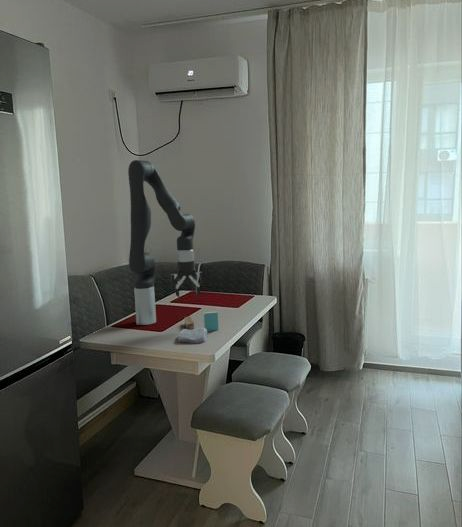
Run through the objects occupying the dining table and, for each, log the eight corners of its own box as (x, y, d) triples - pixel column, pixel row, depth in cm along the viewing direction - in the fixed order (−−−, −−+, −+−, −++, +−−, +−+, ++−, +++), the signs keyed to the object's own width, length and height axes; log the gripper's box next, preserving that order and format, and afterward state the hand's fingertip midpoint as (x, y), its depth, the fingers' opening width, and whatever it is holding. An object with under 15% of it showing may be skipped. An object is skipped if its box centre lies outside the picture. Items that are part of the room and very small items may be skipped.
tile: (204, 331, 198) (204, 313, 197) (204, 330, 200) (203, 312, 199) (218, 330, 199) (217, 312, 198) (217, 328, 201) (217, 311, 200)
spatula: (186, 336, 193) (185, 328, 192) (182, 324, 210) (182, 317, 210) (198, 334, 194) (197, 327, 193) (193, 323, 211) (193, 316, 211)
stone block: (206, 347, 183) (208, 335, 193) (205, 336, 182) (207, 325, 191) (177, 349, 184) (180, 336, 193) (176, 338, 182) (179, 326, 192)
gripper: (170, 262, 194) (172, 299, 197) (203, 259, 197) (205, 296, 199) (169, 259, 202) (171, 295, 204) (200, 257, 204) (202, 293, 207)
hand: (188, 295), depth 202 cm, fingers open, 8 cm apart
